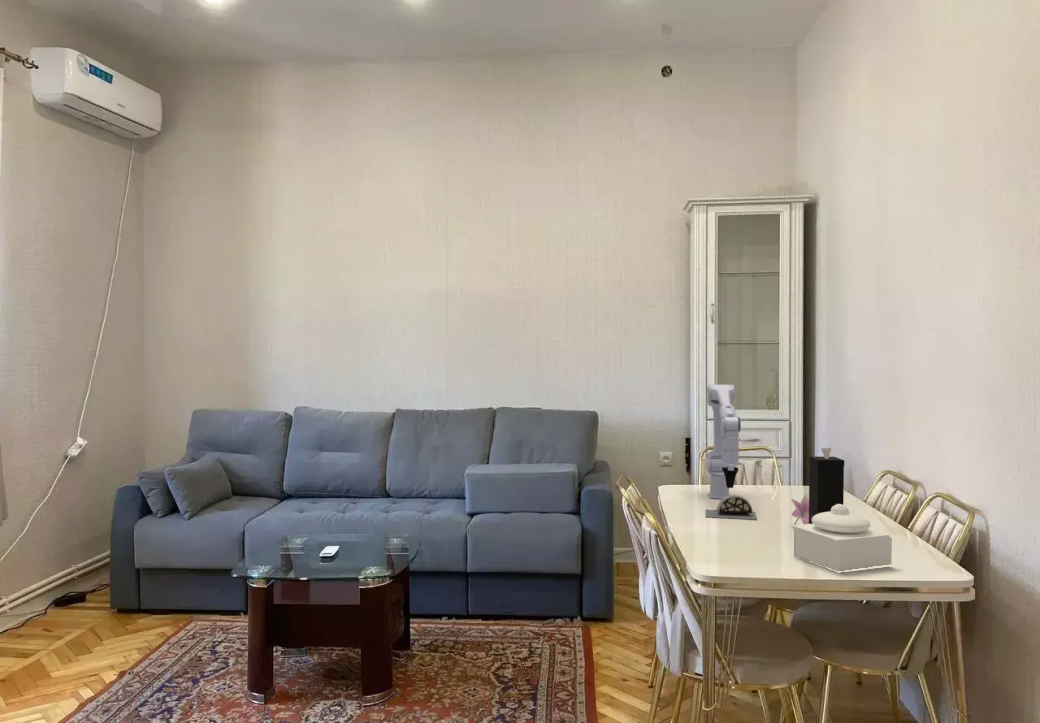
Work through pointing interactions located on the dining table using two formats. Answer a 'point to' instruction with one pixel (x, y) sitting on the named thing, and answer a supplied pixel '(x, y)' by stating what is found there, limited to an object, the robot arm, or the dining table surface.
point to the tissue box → (825, 483)
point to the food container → (734, 505)
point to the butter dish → (841, 541)
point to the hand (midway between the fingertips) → (729, 487)
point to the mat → (730, 515)
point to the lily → (801, 510)
